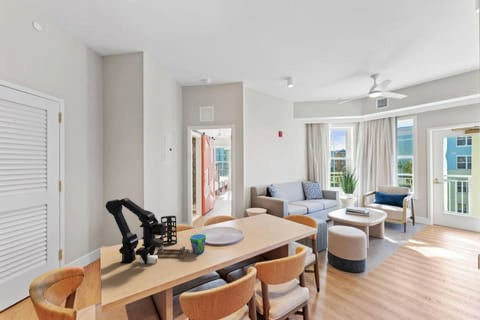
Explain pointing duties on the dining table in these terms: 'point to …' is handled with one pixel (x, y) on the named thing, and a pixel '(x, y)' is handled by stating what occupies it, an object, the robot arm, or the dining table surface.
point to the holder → (169, 228)
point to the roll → (150, 259)
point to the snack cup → (198, 243)
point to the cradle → (172, 252)
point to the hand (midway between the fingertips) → (148, 260)
